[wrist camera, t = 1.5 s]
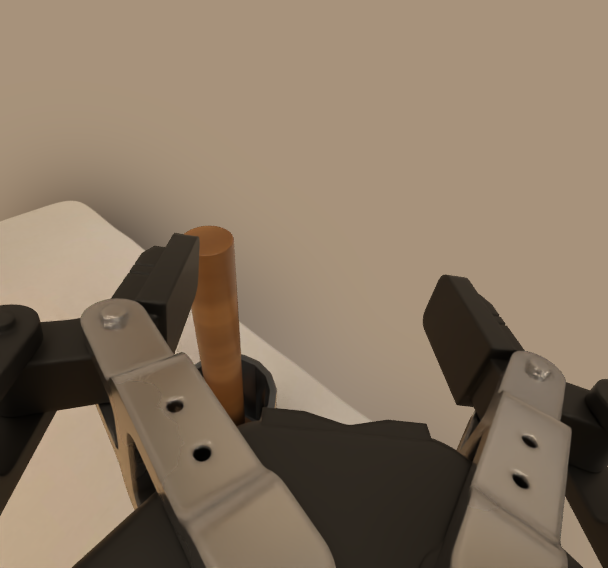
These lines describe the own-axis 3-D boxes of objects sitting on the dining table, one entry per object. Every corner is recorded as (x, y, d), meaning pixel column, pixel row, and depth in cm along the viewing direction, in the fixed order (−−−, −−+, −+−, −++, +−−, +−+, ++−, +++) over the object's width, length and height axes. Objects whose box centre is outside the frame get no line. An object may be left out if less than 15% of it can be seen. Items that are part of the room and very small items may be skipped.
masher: (270, 450, 34) (275, 244, 19) (223, 489, 31) (188, 284, 16) (238, 412, 36) (220, 205, 22) (192, 445, 33) (138, 234, 19)
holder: (291, 455, 34) (296, 399, 28) (219, 517, 30) (208, 466, 24) (241, 398, 38) (237, 339, 32) (172, 446, 34) (153, 388, 28)
